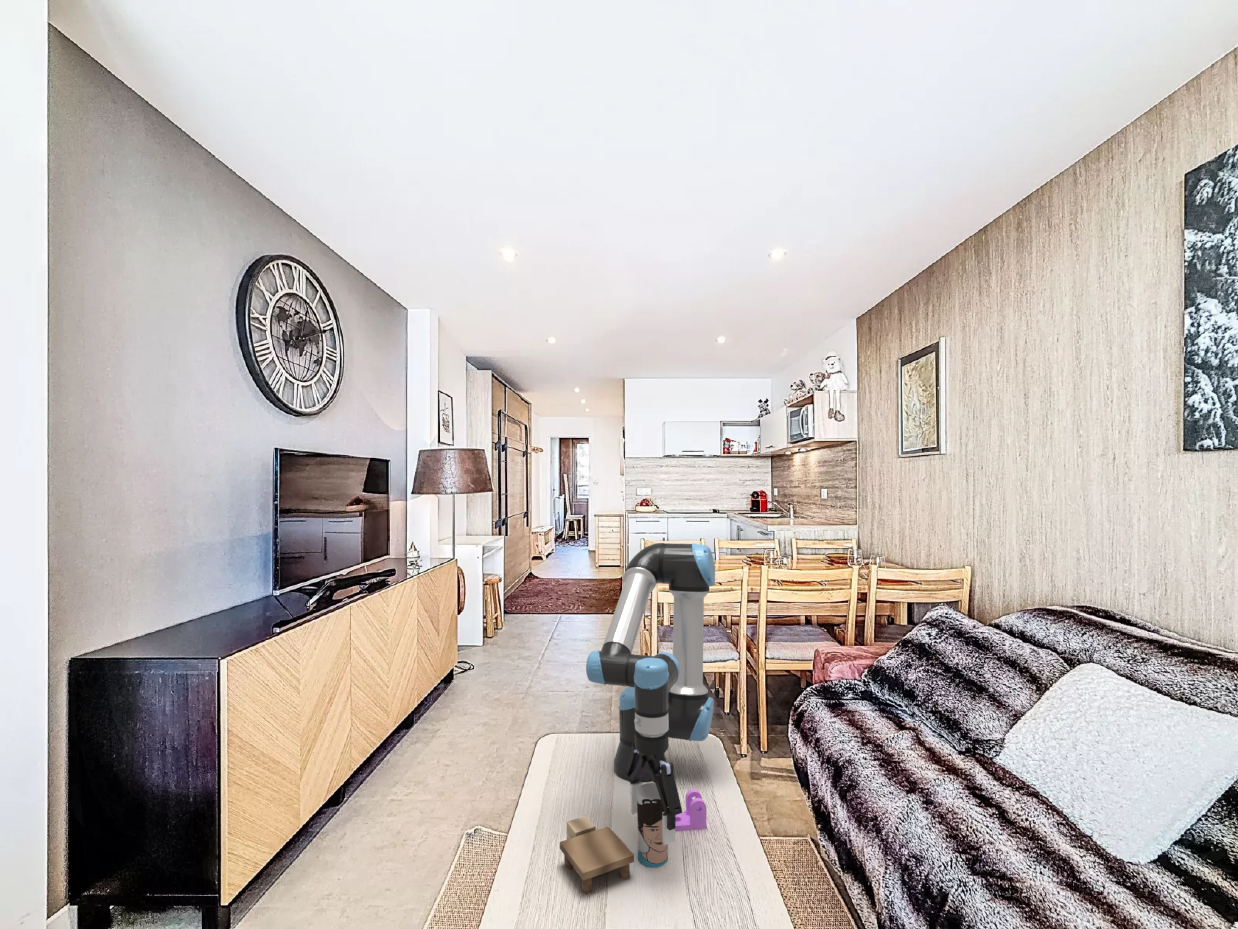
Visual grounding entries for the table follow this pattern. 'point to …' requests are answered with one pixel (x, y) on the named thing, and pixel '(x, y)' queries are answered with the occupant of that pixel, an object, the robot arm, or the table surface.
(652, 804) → the printed can
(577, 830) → the oak block
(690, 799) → the bracket
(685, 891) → the table surface
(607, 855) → the stand
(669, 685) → the robot arm
